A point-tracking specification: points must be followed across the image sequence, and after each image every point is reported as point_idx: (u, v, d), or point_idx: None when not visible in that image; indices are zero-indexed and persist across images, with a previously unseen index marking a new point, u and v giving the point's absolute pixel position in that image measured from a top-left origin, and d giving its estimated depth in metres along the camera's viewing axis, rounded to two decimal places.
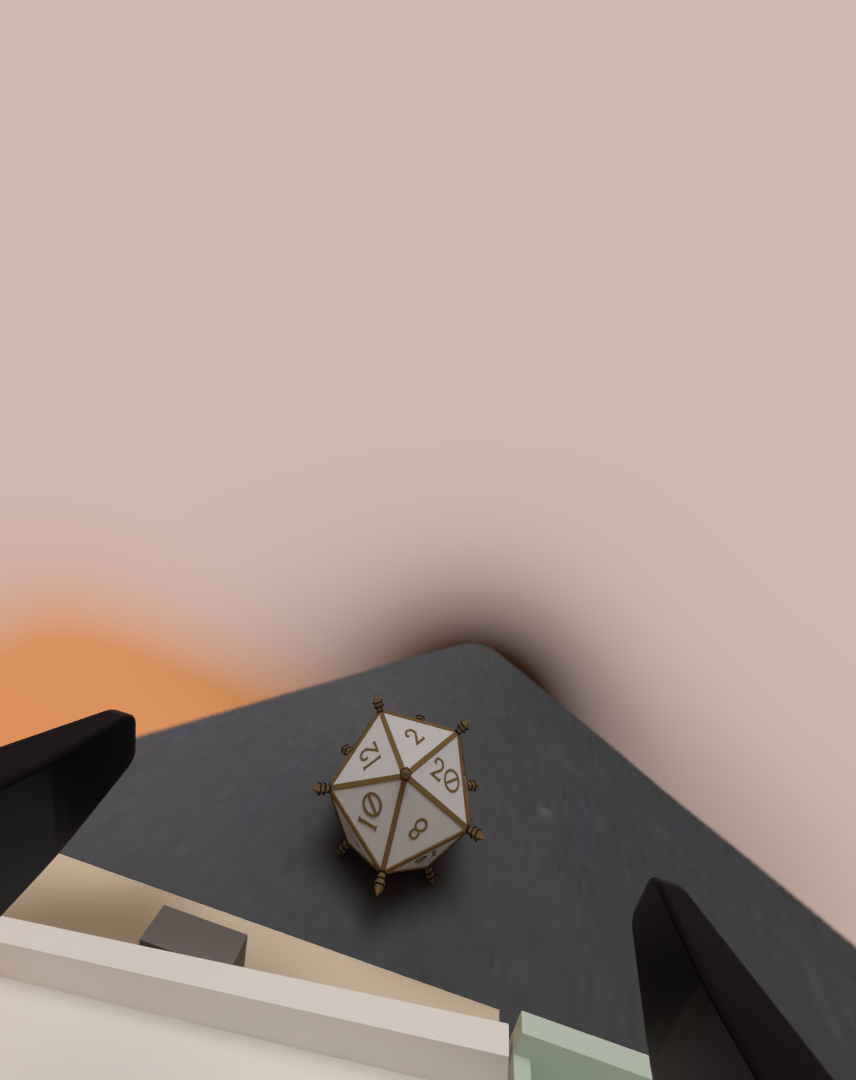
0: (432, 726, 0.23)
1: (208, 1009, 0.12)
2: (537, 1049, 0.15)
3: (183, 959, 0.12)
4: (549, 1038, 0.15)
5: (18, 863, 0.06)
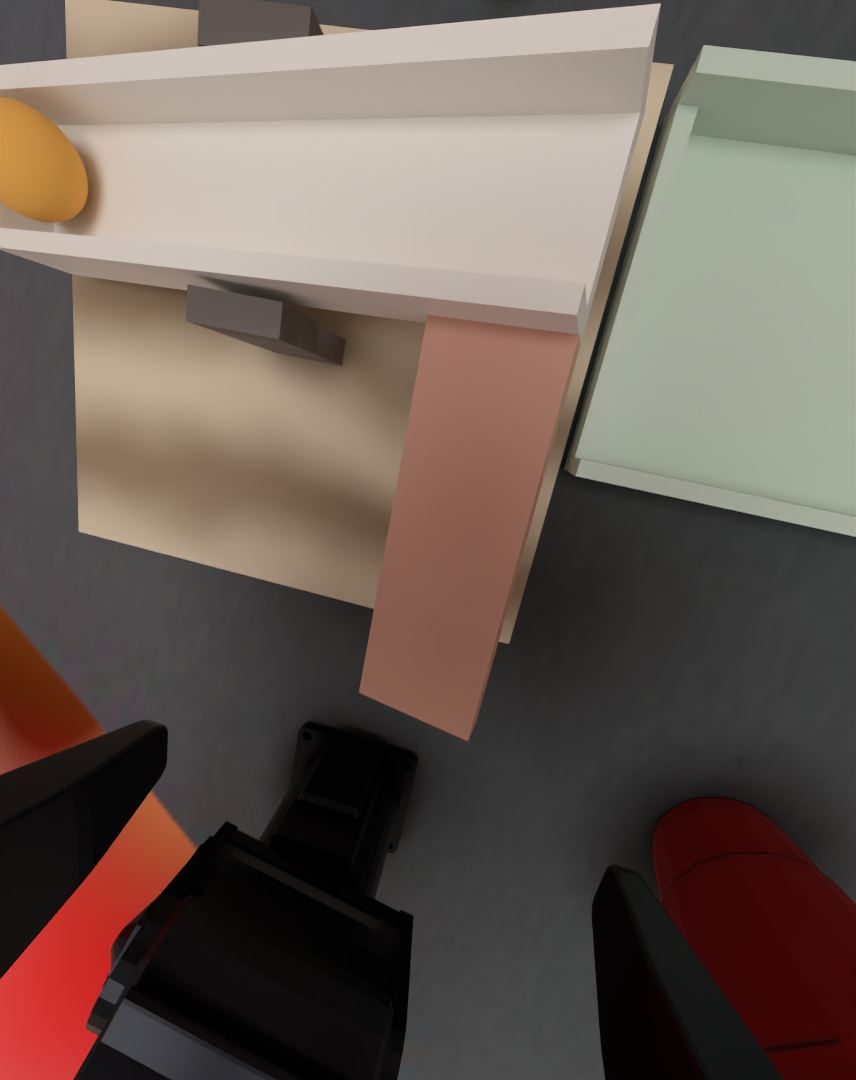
0: None
1: (299, 98, 0.11)
2: (712, 90, 0.12)
3: (244, 48, 0.10)
4: (733, 71, 0.12)
5: (58, 878, 0.06)
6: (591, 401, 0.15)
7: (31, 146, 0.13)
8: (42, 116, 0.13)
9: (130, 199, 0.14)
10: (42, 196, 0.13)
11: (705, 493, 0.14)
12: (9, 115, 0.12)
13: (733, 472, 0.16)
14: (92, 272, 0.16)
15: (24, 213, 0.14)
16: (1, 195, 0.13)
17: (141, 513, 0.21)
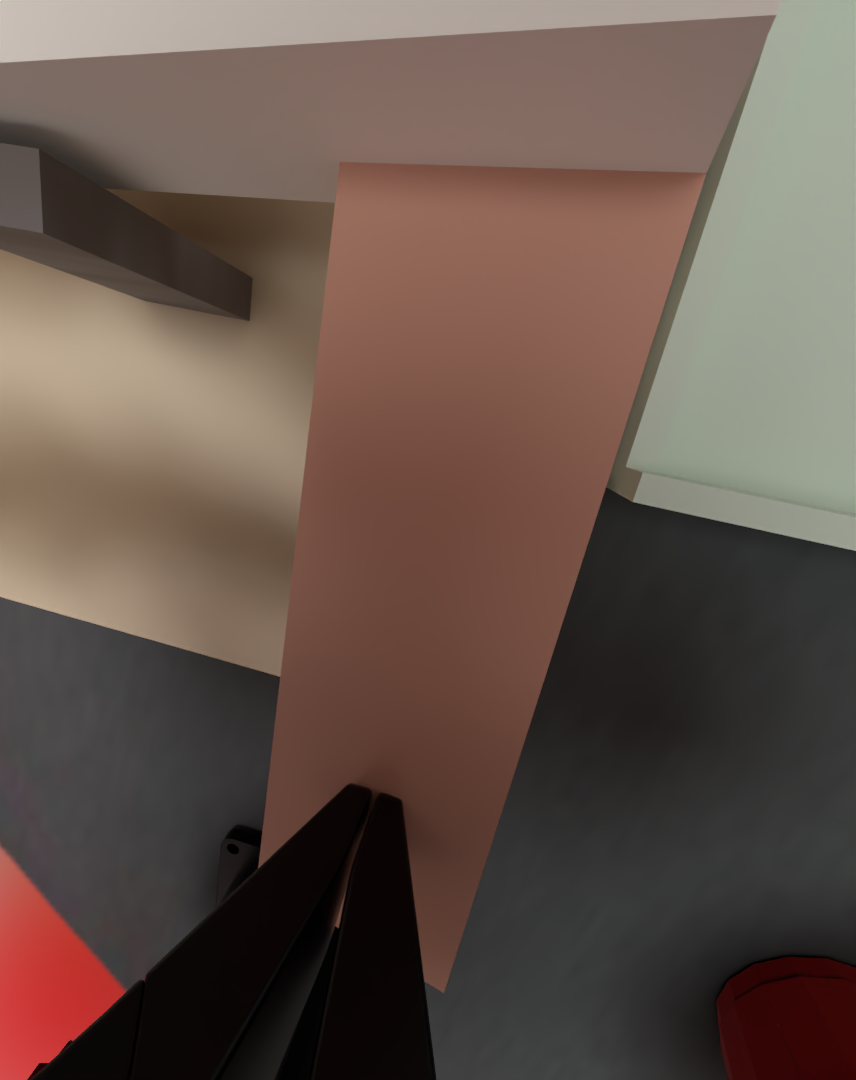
0: None
1: None
2: None
3: None
4: None
5: (312, 970, 0.05)
6: (657, 371, 0.09)
7: None
8: None
9: None
10: None
11: None
12: None
13: None
14: None
15: None
16: None
17: None
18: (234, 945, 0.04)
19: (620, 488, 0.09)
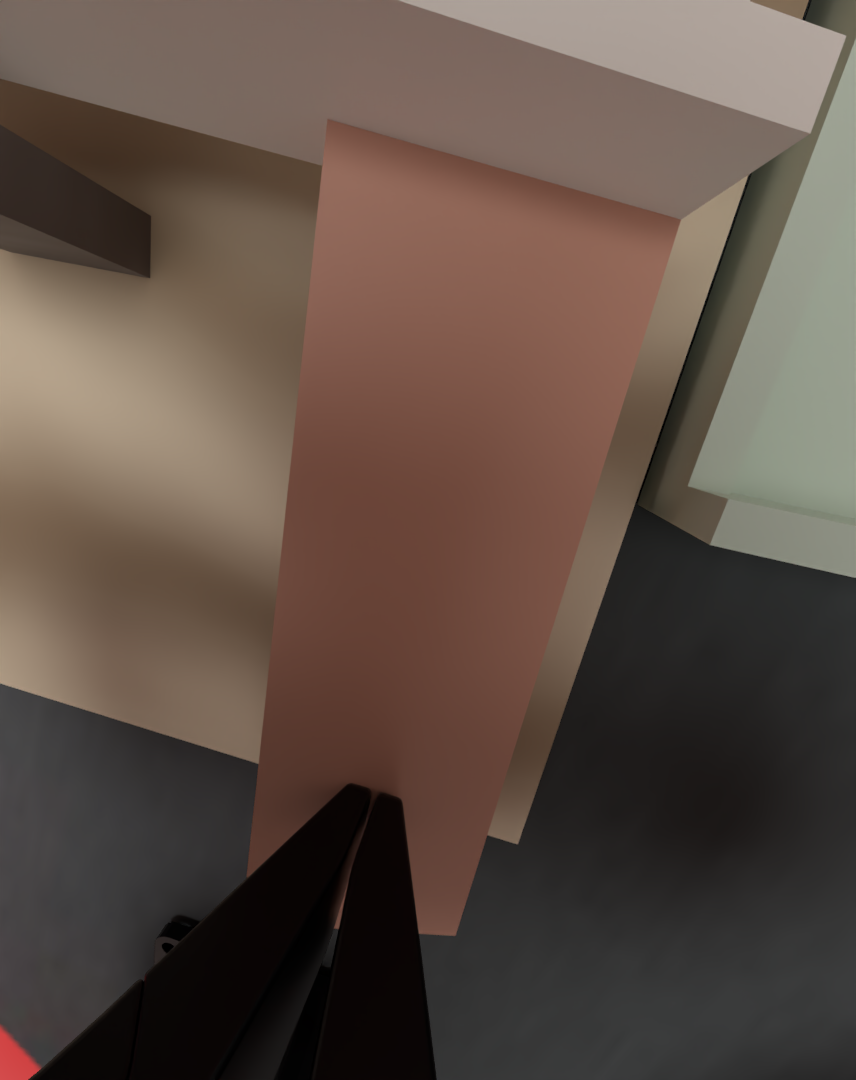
0: None
1: None
2: None
3: None
4: None
5: (312, 970, 0.05)
6: (742, 341, 0.06)
7: None
8: None
9: None
10: None
11: None
12: None
13: None
14: None
15: None
16: None
17: None
18: (233, 945, 0.04)
19: (679, 518, 0.06)
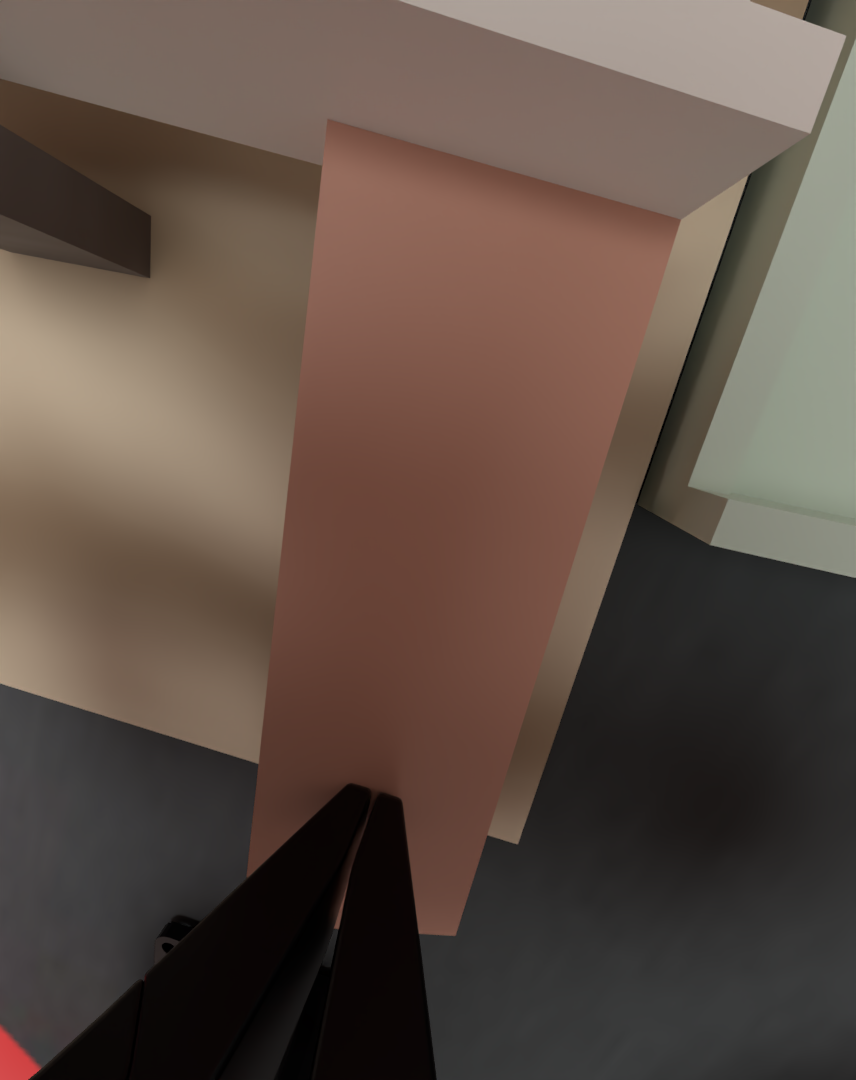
0: None
1: None
2: None
3: None
4: None
5: (312, 970, 0.05)
6: (742, 341, 0.06)
7: None
8: None
9: None
10: None
11: None
12: None
13: None
14: None
15: None
16: None
17: None
18: (233, 945, 0.04)
19: (679, 518, 0.06)
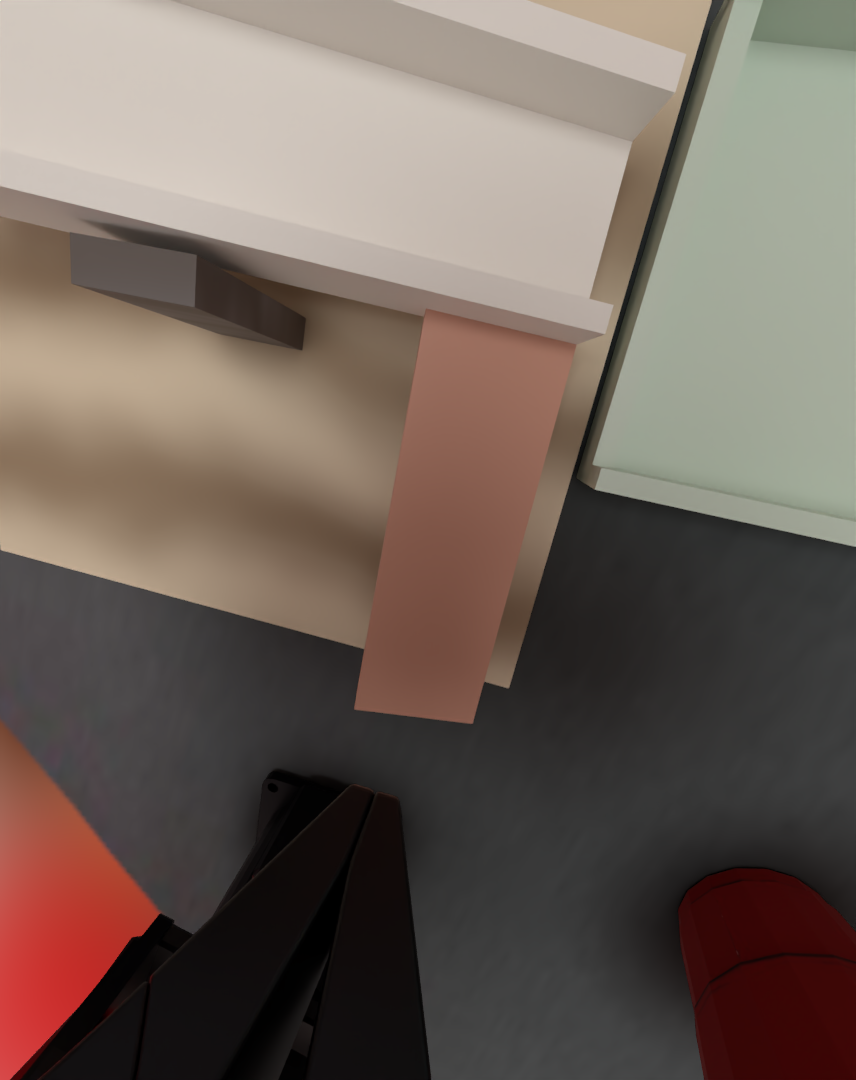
0: None
1: None
2: None
3: None
4: None
5: (316, 971, 0.05)
6: (614, 393, 0.12)
7: None
8: None
9: None
10: None
11: (764, 512, 0.11)
12: None
13: (790, 483, 0.13)
14: None
15: None
16: None
17: (71, 529, 0.17)
18: (238, 946, 0.04)
19: (588, 480, 0.13)
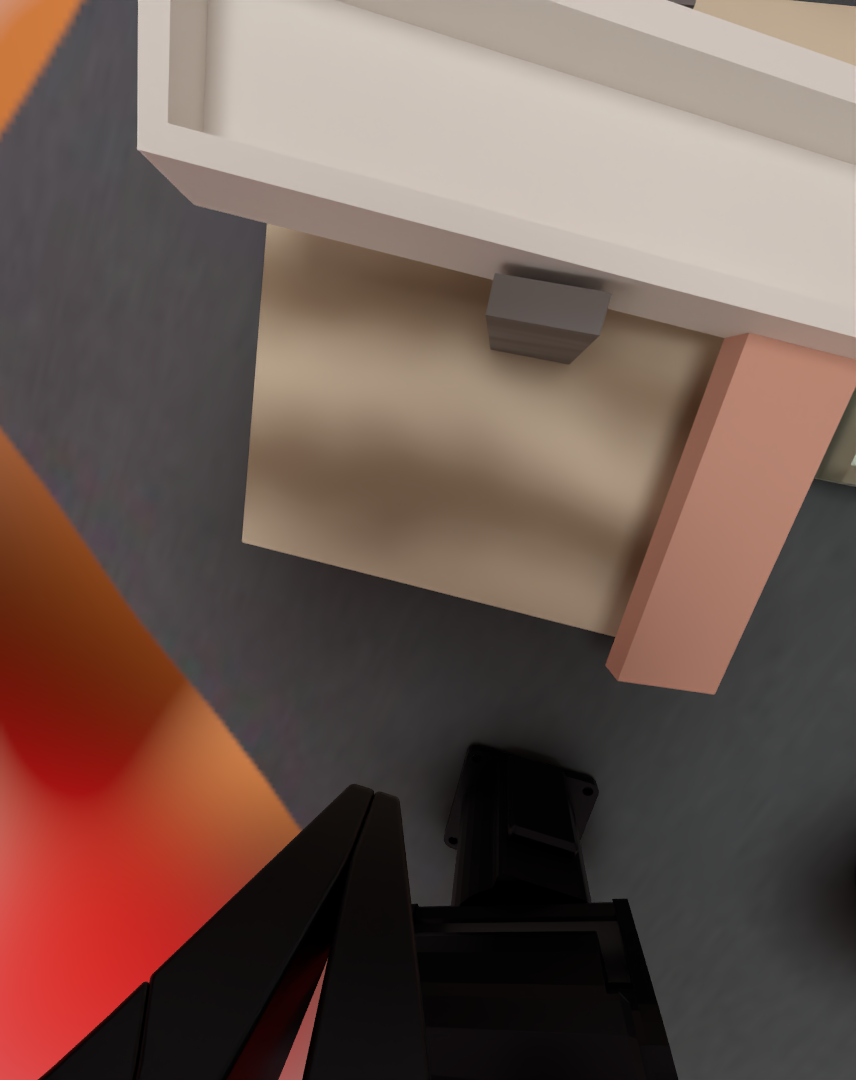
0: None
1: (690, 85, 0.10)
2: None
3: (680, 12, 0.09)
4: None
5: (316, 971, 0.05)
6: None
7: None
8: None
9: (375, 126, 0.10)
10: None
11: None
12: None
13: None
14: (275, 214, 0.11)
15: None
16: None
17: (315, 523, 0.19)
18: (238, 946, 0.04)
19: (847, 479, 0.14)
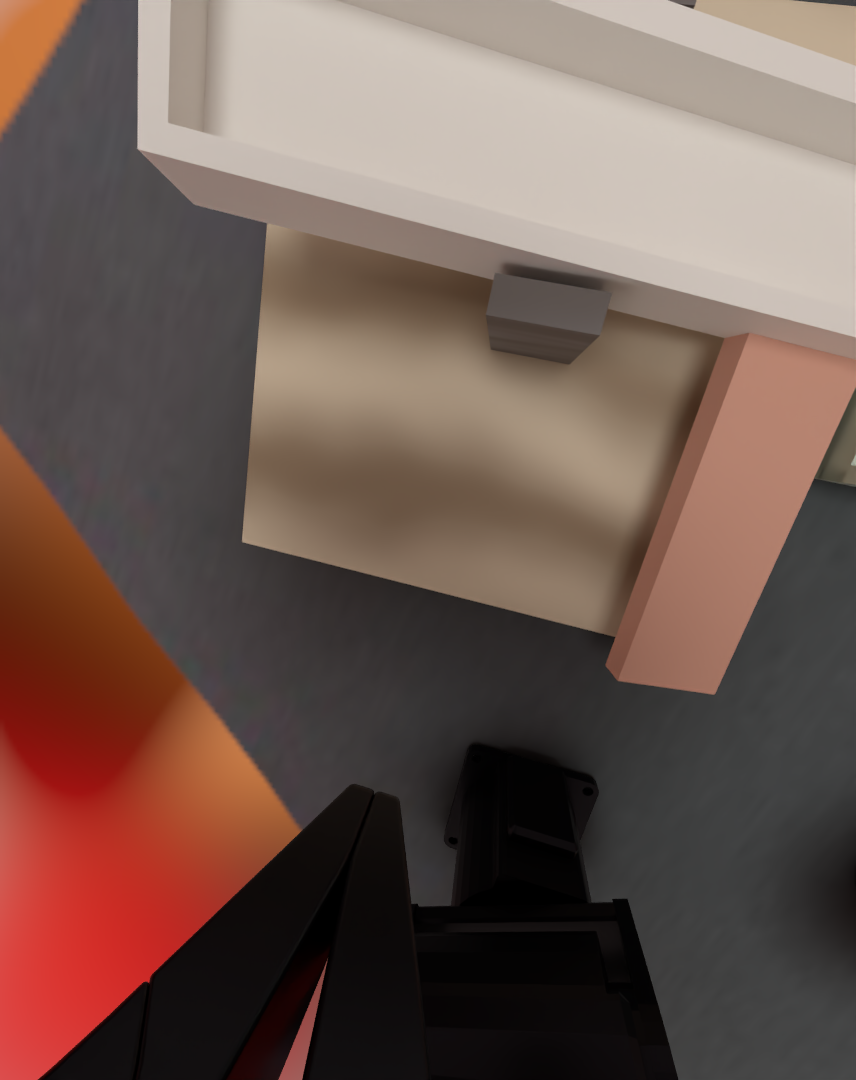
0: None
1: (690, 85, 0.10)
2: None
3: (680, 12, 0.09)
4: None
5: (316, 971, 0.05)
6: None
7: None
8: None
9: (376, 126, 0.10)
10: None
11: None
12: None
13: None
14: (275, 214, 0.11)
15: None
16: None
17: (316, 523, 0.19)
18: (238, 946, 0.04)
19: (847, 479, 0.14)
